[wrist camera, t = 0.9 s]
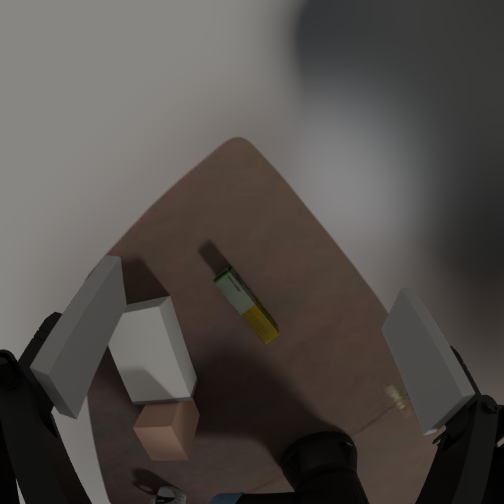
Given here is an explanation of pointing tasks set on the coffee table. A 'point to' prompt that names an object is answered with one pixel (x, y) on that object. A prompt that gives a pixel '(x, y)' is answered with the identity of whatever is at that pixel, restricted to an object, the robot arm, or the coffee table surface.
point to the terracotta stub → (168, 429)
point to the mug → (169, 496)
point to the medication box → (246, 304)
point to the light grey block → (152, 354)
